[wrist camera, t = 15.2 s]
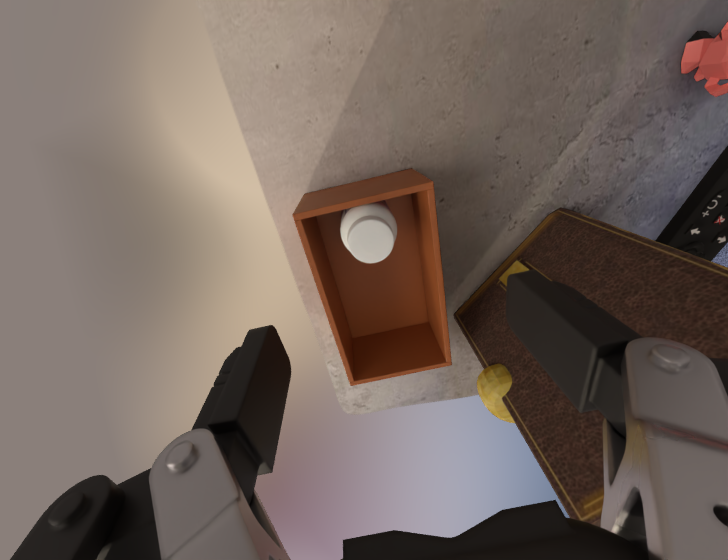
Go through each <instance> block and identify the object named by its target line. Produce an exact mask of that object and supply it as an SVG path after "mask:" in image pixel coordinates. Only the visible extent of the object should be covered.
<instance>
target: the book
mask: <svg viewBox="0 0 728 560" xmlns="http://www.w3.org/2000/svg"><path fill="white" fill-rule="evenodd" d="M532 269H534V270H537V271H538V272H539V273H541V274H542V275H543V276H545V277H546V278H547V279H549V280H550V281H554V280H555V281H558V282H560V283H563V284H566V285H568V286H571V287H573V288H575V289H576V290H577V291H579V292H580V293H582V294H583V295H584V296H586V299H590V300H591V301H593V302H594V303H596V304H597V306H598V307H601V308H603V309H604V310H606V311H607V312H608V313H610V314H611V315H613V316H614V317H615V318H617V319H618V320H620V321H621V322H623V323H624V324H625V325H627V326H628V327H630V328H631V329H632V330H634V331H635V332H637V333H638V334H639V335H641V336H642V337H644V338H647V337H652V338H663V339H668V340H672V341H676V342H679V343H682V344H685V345H687V346H689V347H691V348H694V349H695V350H697V351H699V352H701V353H702V354H704V355H705V356H706V357H707V358H727V359H728V268H727V267H724V266H722V265H719V264H716V263H713V262H711V261H708V260H705V259H703V258H700V257H697V256H694V255H692V254H689V253H686V252H683V251H681V250H678V249H675V248H673V247H670V246H667V245H664V244H662V243H659V242H656V241H653V240H651V239H648V238H645V237H643V236H640V235H637V234H634V233H632V232H629V231H626V230H623V229H621V228H618V227H615V226H613V225H610V224H607V223H604V222H602V221H599V220H596V219H593V218H591V217H588V216H585V215H583V214H580V213H577V212H574V211H572V210H568V209H563V208H559V209H557V210H556V211H554V212H552V213H550V214H549V215H548V216H547V217H546V218H545V219H544V220H543V221H542V222H541V223H540V224H539V225H538V226H537V227H536V229H535V230H534V231H533V232H532V233H531V234H530V235H529V236H528V237H527V238H526V239H525V240H524V241H523V242H522V243H521V244H520V245H519V246H518V247H517V249H516V250H515V251H514V252H513V253H512V254H511V255H510V256H509V257H508V258H507V259H506V260H505V261H504V262H503V263H502V264H501V265H500V266H499V268H498V269H497V270H496V271H495V272H494V273H493V274H492V275H491V276H490V277H489V278H488V279H487V280H486V281H485V282H484V283H483V284H482V285H481V286H480V288H479V289H478V290H477V291H476V292H475V293H474V294H473V295H472V296H471V297H470V298H469V299H468V300H467V301H466V302H465V303H464V304H463V305H462V307H461V308H460V309H459V310H458V311H457V312H456V313H455V314H454V318H455V320H456V321H457V323H458V325H459V327H460V328H461V330H462V332H463V334H464V335H465V337H466V339H467V340H468V342H469V344H470V346H471V347H472V349H473V351H474V353H475V354H476V356H477V358H478V360H479V361H480V363H481V365H482V366H483V368H484V370H483V371H482V372H481V374H480V375H479V376H478V380H477V388H478V392H479V395H480V397H481V399H482V401H483V403H484V405H485V406H486V407H487V408H488V410H489V411H490V412H491V413H492V414H493V415H495V416H496V417H498V418H499V419H501V420H504V421H507V422H510V423H515V424H516V425H517V427H518V429H519V430H520V432H521V434H522V435H523V437H524V439H525V441H526V443H527V444H528V446H529V448H530V449H531V451H532V453H533V455H534V456H535V458H536V460H537V462H538V463H539V465H540V467H541V468H542V470H543V472H544V474H545V475H546V477H547V479H548V480H549V482H550V484H551V486H552V488H553V489H554V491H555V492H556V494H557V496H558V498H559V499H560V501H561V503H562V505H563V506H564V508H565V510H566V512H567V513H568V515H569V517H570V518H572V519H576V520H580V521H584V522H588V523H590V524H593V525H596V526H599V527H601V515H602V509H603V502H604V459H603V421H604V416H603V415H602V413H601V412H600V411H599V410H593V411H588V412H583V413H580V412H579V411H578V410H577V409H576V407H575V406H574V405H573V404H572V403H571V401H570V400H569V399H568V398H567V397H566V395H565V394H564V393H563V392H562V390H561V389H560V388H559V387H558V386H557V384H556V383H555V382H554V381H553V380H552V378H551V377H550V376H549V375H548V374H547V372H546V371H545V370H544V369H543V368H542V366H541V365H540V364H539V363H538V361H537V360H536V359H535V358H534V357H533V355H532V354H531V353H530V352H529V351H528V349H527V348H526V347H525V346H524V345H523V343H522V342H521V341H520V340H519V338H518V337H517V336H516V335H515V334H514V332H513V331H512V330H511V328H510V327H509V324H508V322H507V318H506V288H507V278H508V276H509V275H510V274H514V273H518V272H523V271H528V270H532Z"/></svg>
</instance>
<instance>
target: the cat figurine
mask: <svg viewBox="0 0 728 560" xmlns="http://www.w3.org/2000/svg"><path fill="white" fill-rule="evenodd" d="M698 66H699V68H698V70H697V72H696V74H695V76H694V78H695V80H696V82H697V81H699V80H702V79H704V78H705V79H706V80H708V81H707V83H706V84H705V86H704V87H705V88H706V89H707V90H708V92H709V93H710V94H711V95H713V96H715V97H717V96H719V95H722V94H725V93H728V83H726V84H723V85H721V86H720V85H718V84H717V83H718V81H719V80H724V79H728V22H727V23H726V25H725V26H724V28H723V29H722V30H721V32H720V33H719V34H718V36H717V37H716V38H715V39H714V38H713V37H712V36H711V35H710V34H709V33H708V32H706V31H697V32H696V33H695V34H694V35H693V36H692V38H691V39H690V40H689V41H688V42H687V43H686V46H685V50H684V54H683V57H682V61H681V73H689V72H690V71H692V70H693V69H695V68H696V67H698Z"/></svg>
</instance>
